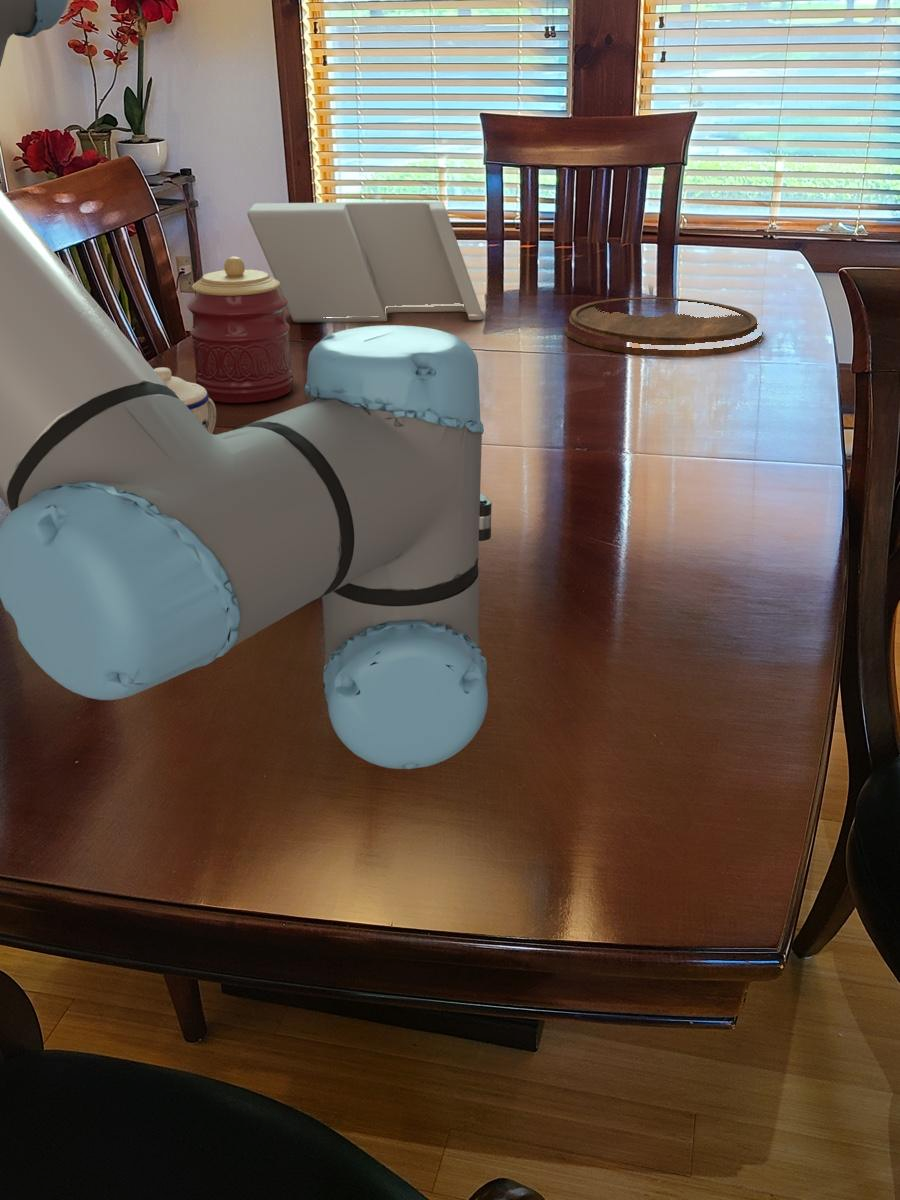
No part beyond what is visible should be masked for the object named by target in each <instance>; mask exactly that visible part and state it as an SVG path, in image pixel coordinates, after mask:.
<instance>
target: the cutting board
mask: <svg viewBox="0 0 900 1200" xmlns="http://www.w3.org/2000/svg"><path fill="white" fill-rule="evenodd" d="M635 299H636V300H637V299H663V300H677V301H688V302H697V303H704V304H709V305H714V306H719V307H722V308H726V309H729V310H732V311H735V312H737V313H739V314H741V315H740V316H739V315H738V316H737V315H735V316H734V315H733V316H732V314H731V315H730V316H729V315H728V316H727V315H725V316H727V317H723V316H722V317H720V316H719V318H718V317H715V316H714V317H711V318H710V317H709V318H704V317H700V318H699V317H697V318H696V317H694V316H692V317H691V316H690V315H685V314H683V315H682V314H680V315H679V314H677V315H676V314H674V313H672V314H667V315H666V314H664V315H663V316H662V317H659V316H658V317H656V316H655V317H647V318H646V317H644V316H643V315H642V316H634V314H633V315H630V314H624V313H620V312H613V313H611V314H610V313H609V312H605V311H602V312H600V311H601V310H599V311H598V309H599V308H598V309H596V308H595V306H597V305H600V304H605V303H609V302H617V301H625V300H635ZM603 312H604V313H603ZM742 315H743V316H742ZM569 316H570V317H569ZM569 316H568V317H569V321H570V323H571V324H572V325H574V326H575V327H577V328H579V329H581V330H584V331H586V332H589V333H592V334H595V335H599V336H603V337H606V338H611V339H614V340H620V341H624V342H632V343H638V344H651V345H686V344H695V343H705V342H717V341H724V340H732V339H736V338H742V337H743V336H746V335H748V334H750V333H751V332H754V330H755V329H757V325H758V324H759V323H758V324H757V322H758V319H757V317H756V316H755V315H753V314H752V313H750V312H748V311H747V310H744V309H742V308H739V307H735V306H731V305H727V304H723V303H719V302H713V301H706V300H698V299H690V298H689V299H688V298H677V297H657V296H656V297H655V296H653V297H650V296H649V297H647V296H646V297H644V296H643V297H642V296H641V297H623V298H622V297H621V298H611V299H603V300H597V301H593V302H589V303H588V302H587V303H585V304H582V305H578V306H577V307H575V308H574V309H573V310H572V311H571V313H570V315H569ZM660 316H661V315H660ZM562 329H564V331H563V333H564V332H565V333H566V334H567V335H566V334H565V333H564V334H565V335H566V337H567V338H569V337H570V338H569V339H571V340H572V339H573V340H572V341H574V340H575V341H574V342H576V343H579V344H583V345H584V346H588V347H592V348H595V349H600V350H603V351H609V352H615V353H623V354H630V355H639V356H652V357H703V356H702V355H706V356H713V355H712V354H717V355H723V354H722V353H725V354H730V353H729V352H732V353H737V352H740V350H741V351H744V350H747V348H748V349H750V348H749V347H751V348H753V347H755V346H757V345H758V344H760V342H761V341H762V340H761V339H763V336H764V331H763V332H762V335H763V336H762V335H761V336H759V337H758V338H757V339H755V340H753V341H750V342H747V343H744V344H740V345H735V346H729V347H722V348H713V349H699V350H658V349H643V348H632V347H624V346H617V345H611V344H605V343H601V342H596V341H592V340H589V339H585V338H582V337H580V336H577V335H575V334H573V333H571V332H569V331H568V330H567V329H566V328H565V326H564V325H563V327H562ZM760 340H761V341H760ZM759 341H760V342H759ZM757 343H758V344H757ZM756 344H757V345H756ZM754 345H755V346H754ZM752 346H753V347H752Z"/></svg>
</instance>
